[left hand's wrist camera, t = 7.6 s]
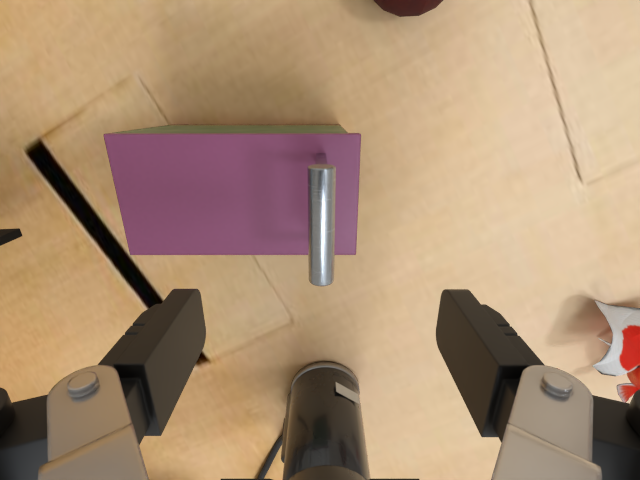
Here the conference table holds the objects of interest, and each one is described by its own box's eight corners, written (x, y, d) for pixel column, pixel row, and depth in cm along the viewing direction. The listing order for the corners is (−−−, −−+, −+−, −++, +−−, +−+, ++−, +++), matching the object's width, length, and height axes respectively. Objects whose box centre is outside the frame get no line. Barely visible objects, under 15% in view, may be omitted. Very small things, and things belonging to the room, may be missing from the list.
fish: (591, 425, 44) (683, 461, 34) (536, 311, 45) (609, 315, 36) (652, 387, 46) (754, 411, 36) (597, 279, 48) (681, 275, 38)
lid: (359, 133, 25) (377, 145, 17) (354, 250, 28) (367, 303, 20) (109, 133, 24) (18, 145, 17) (135, 250, 28) (68, 303, 20)
